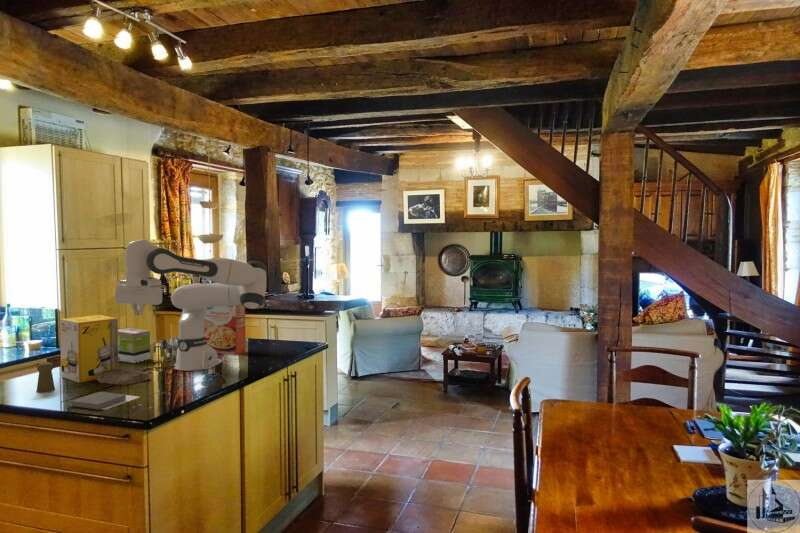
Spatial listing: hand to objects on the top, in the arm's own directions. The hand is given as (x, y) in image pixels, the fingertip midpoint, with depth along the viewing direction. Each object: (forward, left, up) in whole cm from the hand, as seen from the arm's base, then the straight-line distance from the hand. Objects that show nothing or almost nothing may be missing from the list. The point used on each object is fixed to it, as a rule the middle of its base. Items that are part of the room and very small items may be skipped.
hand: (138, 315), depth 210 cm
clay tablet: (-5, -15, -30) cm, 33 cm away
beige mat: (+20, +4, -29) cm, 36 cm away
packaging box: (-7, -33, -29) cm, 45 cm away
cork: (+16, -30, -29) cm, 45 cm away
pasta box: (-68, -10, -29) cm, 75 cm away
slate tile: (+17, +4, -28) cm, 33 cm away
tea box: (-37, -40, -29) cm, 62 cm away
